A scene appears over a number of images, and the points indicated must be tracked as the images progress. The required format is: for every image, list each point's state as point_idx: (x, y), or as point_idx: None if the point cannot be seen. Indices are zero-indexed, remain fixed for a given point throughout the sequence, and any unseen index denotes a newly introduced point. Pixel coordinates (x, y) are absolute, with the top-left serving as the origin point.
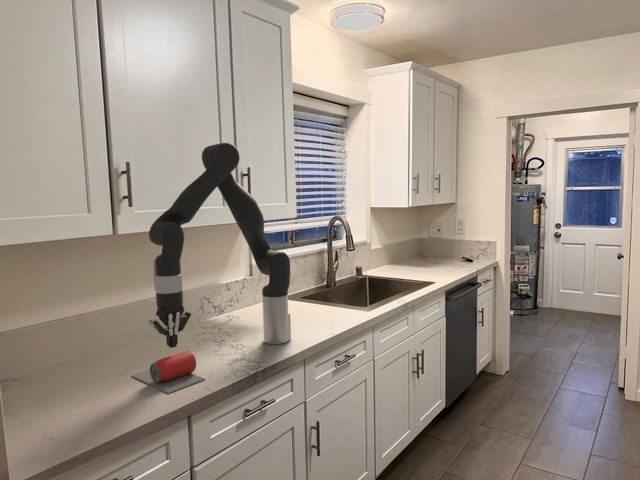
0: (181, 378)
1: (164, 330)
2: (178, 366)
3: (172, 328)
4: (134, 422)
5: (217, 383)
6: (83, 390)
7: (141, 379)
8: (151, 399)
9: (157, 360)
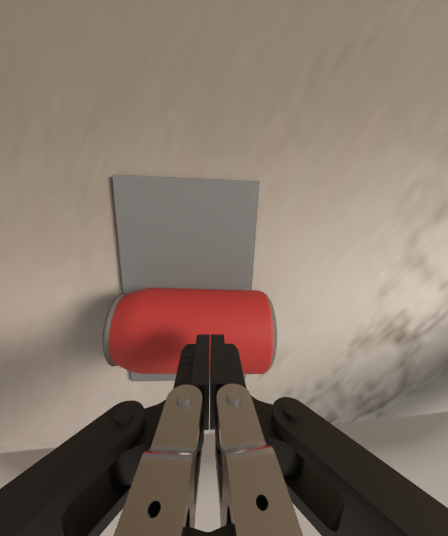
0: None
1: (105, 513)
2: None
3: (236, 432)
4: (10, 436)
5: None
6: None
7: (119, 244)
8: (87, 372)
9: (126, 337)
